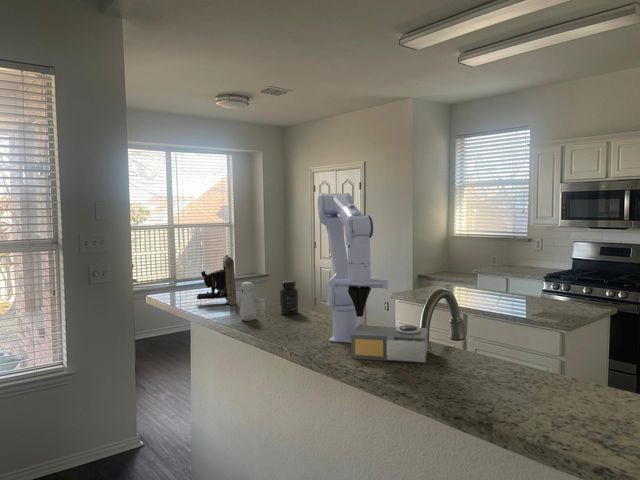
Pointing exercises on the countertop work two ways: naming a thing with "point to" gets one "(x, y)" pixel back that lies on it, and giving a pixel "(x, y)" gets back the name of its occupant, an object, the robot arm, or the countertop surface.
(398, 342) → the side door
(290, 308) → the supplement bottle
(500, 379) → the countertop surface
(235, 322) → the countertop surface
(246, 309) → the salt shaker
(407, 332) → the camera housing
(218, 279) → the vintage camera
